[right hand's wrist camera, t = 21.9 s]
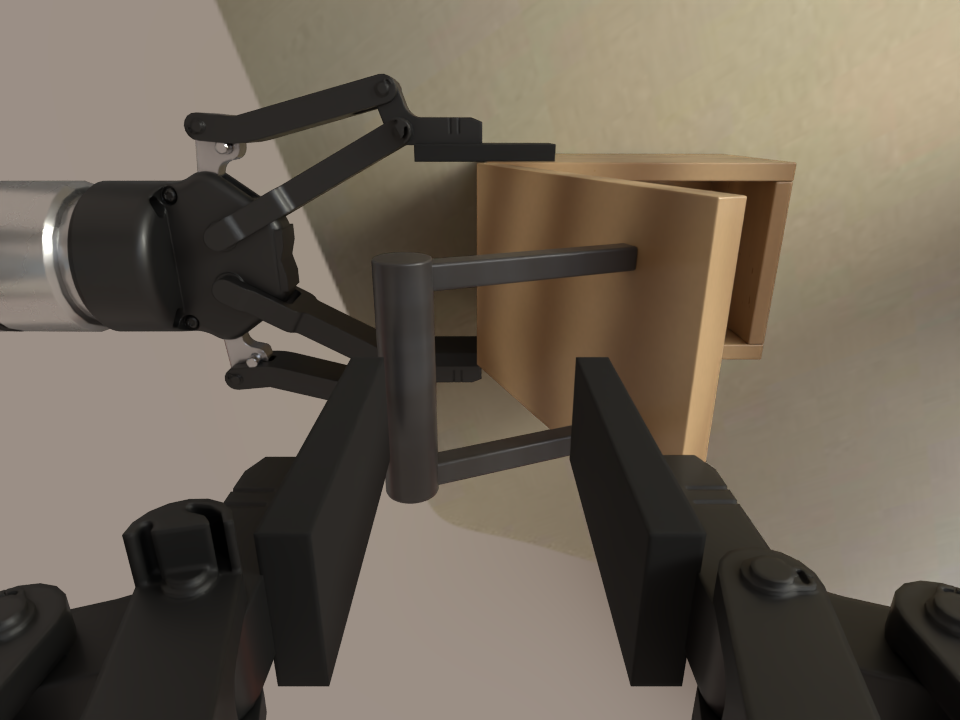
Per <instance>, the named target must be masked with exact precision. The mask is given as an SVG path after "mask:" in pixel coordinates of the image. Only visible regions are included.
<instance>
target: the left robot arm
mask: <svg viewBox="0 0 960 720" xmlns="http://www.w3.org/2000/svg"><path fill="white" fill-rule="evenodd" d="M376 109H378V111H379V113H380V116H381V118H382V121H383V123H384V124H383V125H381V126H380V127H378V128H376V129H375V130H373V131H371V132H370V133H368V134H366V135H365V136H363V137H361V138H360V139H358V140H356V141H355V142H353V143H351V144H350V145H348V146H346V147H345V148H343V149H341V150H340V151H338V152H336V153H334V154H333V155H331V156H329V157H328V158H326V159H324V160H323V161H321V162H319V163H318V164H316V165H314V166H313V167H311V168H309V169H308V170H306V171H304V172H303V173H301V174H299V175H298V176H296V177H294V178H293V179H291V180H289V181H288V182H286V183H284V184H283V185H281V186H279V187H277V188H275V189H273V190H271V191H269V192H268V193H266V194H264V195H263V196H259V195H258V194H256V193H255V192H253V191H252V190H250V189H249V188H248V187H246V186H245V185H243V184H242V183H240V182H239V181H237V180H236V179H234V178H233V177H231V176H230V175H228V174H227V173H226V172H225V171H226V166H227V164H228V163H229V162H230V161H232V160H236V159H240V158H242V157H243V156H244V155H245V153H246V143H251V142H262V141H267V140H271V139H275V138H278V137H282V136H285V135H289V134H292V133H296V132H299V131H303V130H306V129H310V128H313V127H316V126H320V125H323V124H327V123H330V122H334V121H337V120H341V119H344V118H348V117H351V116H355V115H358V114H362V113H365V112H369V111H372V110H376ZM184 127H185V131H186V132H187V134H188V135H189V136H190V137H191V138H192V139H194V140H195V141H196V155H197V169H198V172H197V173H195V174H193V175H191V176H190V177H188V178H187V179H185V180H182V181H102V182H98V183H96V184H92V183H89V182H87V181H0V331H105V330H108V329H112V330H115V331H204V332H207V333H210V334H213V335H215V336H217V337H219V338H221V339H224V341H225V345H226V349H227V353H228V356H229V360H230V364H231V369H230V370H229V371H228V372H227V373H226V375H225V381H226V383H227V385H228V386H230V387H231V388H233V389H238V390H240V389H252V388H263V387H273V388H277V389H282V390H286V391H290V392H294V393H299V394H303V395H308V396H312V397H316V398H321V399H325V400H328V399H329V397H330V395H331V393H332V392H333V390H334V388H335V386H336V384H337V383H338V381H339V379H340V377H341V375H342V374H343V372H344V370H345V368H346V366H347V365H344V364H340V363H336V362H331V361H327V360H323V359H319V358H315V357H310V356H306V355H302V354H298V353H293V352H287V351H272V349H271V346H270V345H269V344H267V343H262V342H257V341H255V340H253V339H252V338H251V337H250V335H249V333H248V332H249V331H250V330H251V329H252V328H254V327H255V326H256V325H258V324H259V323H260V322H262V321H265V322H267V323H269V324H271V325H273V326H275V327H277V328H280V329H282V330H284V331H286V332H290V333H299V334H301V335H303V336H305V337H307V338H309V339H312V340H314V341H316V342H318V343H320V344H322V345H324V346H326V347H328V348H330V349H332V350H334V351H336V352H338V353H341V354H343V355H345V356H347V357H349V358H351V357H378V354H377V339H376V329H375V328H373V327H371V326H369V325H367V324H365V323H363V322H361V321H358V320H356V319H354V318H352V317H350V316H348V315H346V314H344V313H342V312H340V311H338V310H336V309H334V308H332V307H330V306H328V305H326V304H324V303H322V302H320V301H318V300H317V299H316V297H315V296H314V295H312V294H311V293H309V292H307V291H305V290H303V289H301V288H299V287H297V286H296V285H297V284H298V283H299V275H298V268H297V265H296V262H295V260H294V257H293V254H292V251H293V245H294V239H295V238H294V229H293V224H289V221H288V219H287V218H286V216H287V215H288V214H290V213H292V212H294V211H295V210H297V209H299V208H300V207H302V206H304V205H305V204H307V203H308V202H310V201H312V200H313V199H315V198H317V197H319V196H320V195H322V194H324V193H325V192H327V191H329V190H331V189H332V188H334V187H336V186H337V185H339V184H341V183H342V182H344V181H346V180H348V179H349V178H351V177H353V176H354V175H356V174H358V173H360V172H361V171H363V170H365V169H366V168H368V167H370V166H371V165H373V164H375V163H377V162H378V161H380V160H382V159H383V158H385V157H387V156H389V155H390V154H392V153H394V152H395V151H397V150H399V149H400V148H402V147H404V146H406V145H414V157H415V162H486V161H555V147H556V144H551V143H482V122H480V121H478V120H476V119H474V118H458V117H451V118H449V117H417V116H415V115H414V114H412V113H411V111H410V110H409V108H408V106H407V104H406V101H405V99H404V96H403V93H402V89H401V86H400V84H399V83H398V82H397V81H396V80H395V79H393V78H392V77H390V76H388V75H385V74H378V75H374V76H371V77H367V78H364V79H360V80H357V81H354V82H350V83H347V84H343V85H340V86H336V87H333V88H329V89H326V90H323V91H319V92H316V93H312V94H309V95H305V96H302V97H299V98H295V99H292V100H288V101H285V102H281V103H278V104H274V105H271V106H268V107H264V108H261V109H257V110H254V111H251V112H247V113H244V114H240V115H237V116H236V115H226V114H214V113H191V114H189V115H188V116H187V117H186V119H185V121H184ZM435 364H436V382H474V381H477V380H479V379H481V367H480V366H478V365H477V336H435Z"/></svg>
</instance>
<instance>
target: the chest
mask: <svg viewBox="0 0 960 720" xmlns="http://www.w3.org/2000/svg"><path fill="white" fill-rule="evenodd" d="M484 163H500V164H508V165H516V166H523V167H531V168H539V169H546V170H554V171H562V172H569V173H577V174H584V175H592V176H600V177H607V178H615V179H623V180H630V181H638V182H646V183H653V184H661V185H669V186H676V187H684V188H691V189H699V190H707V191H714V192H722V193H730V194H737V195H745V196H747V199H746V206H745V212H744V219H743V225H742V232H741V238H740V244H739V251H738V257H737V264H736V270H735V276H734V283H733V289H732V296H731V302H730V308H729V315H728V321H727V328H726V334H725V340H724V347H723V353H722V359H761V356H762V350H763V343H764V339H765V333H766V327H767V322H768V316H769V311H770V305H771V300H772V294H773V289H774V283H775V278H776V272H777V267H778V261H779V256H780V250H781V245H782V239H783V234H784V228H785V223H786V217H787V212H788V206H789V201H790V195H791V190H792V184H793V182H792V181H793V180H794V174H795V169H796V163H794V162H786V161H777V160H769V159H760V158H752V157H743V156H735V155H726V154H555V161H486V162H484Z"/></svg>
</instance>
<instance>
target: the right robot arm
mask: <svg viewBox="0 0 960 720" xmlns="http://www.w3.org/2000/svg"><path fill="white" fill-rule="evenodd" d="M389 462H390V445H389V429H388V413H387V396H386V380H385V364H384V357H351V359H350V361H349V363H348V365H347V366H346V368H345V370H344V372H343V374H342V375H341V377H340V379H339V381H338V383H337V384H336V386H335V388H334V390H333V392H332V393H331V395H330V397H329V399H328V400H327V402H326V404H325V406H324V408H323V410H322V411H321V413H320V415H319V417H318V418H317V420H316V422H315V424H314V426H313V427H312V429H311V431H310V433H309V435H308V436H307V438H306V440H305V442H304V444H303V445H302V447H301V449H300V451H299V453H298V454H297V456H296V457H265V458H263V459H262V460H260V461H259V462H258V463H256V464H255V465H253V466H252V467H250V468H249V469H248V470H246V471H245V472H244V473H243V475H242V476H241V478H240V479H239V481H238V482H237V484H236V485H235V487H234V488H233V492H230V494H229V495H228V497H227V498H226V500H225V501H224V503H222V502H219V501H215V500H211V499H188V500H183V501H178V502H174V503H169V504H167V505H164V506H162V507H159V508H157V509H154V510H152V511H149V512H148V513H146V514H145V515H143V516H142V517H140V518H139V519H137V520H136V521H134V522H133V523H132V524H131V525H130V526H129V527H128V529H127V530H126V531H125V532H124V534H123V535H122V537H123V540H124V544H125V548H126V552H127V556H128V560H129V564H130V568H131V572H132V575H133V579H134V583H135V590H134V592H133V594H132V595H129V596H126V597H122V598H119V599H115V600H110V601H106V602H101V603H97V604H93V605H88V606H83V607H79V608H75V609H70V607H69V604H68V600H67V597H66V594H65V593H64V592H63V591H61V590H60V589H59V588H58V587H57V586H53V585H47V584H41V583H39V584H30V585H21V586H16V587H13V588H10V589H7V590H3V591H0V720H266V712H267V711H266V704H265V697H264V691H263V685H264V683H265V680H266V678H267V675H268V673H269V670H270V667H271V665H272V662H273V660H274V664H275V670H276V677H277V683H278V686H329V685H330V681H331V677H332V674H333V670H334V666H335V663H336V659H337V655H338V651H339V648H340V644H341V640H342V637H343V633H344V629H345V625H346V622H347V618H348V614H349V611H350V607H351V603H352V599H353V596H354V592H355V588H356V585H357V581H358V577H359V574H360V570H361V566H362V562H363V559H364V555H365V551H366V548H367V544H368V540H369V536H370V533H371V529H372V525H373V521H374V518H375V514H376V510H377V507H378V503H379V499H380V496H381V492H382V488H383V485H384V481H385V477H386V473H387V470H388V466H389ZM570 462H571V466H572V470H573V473H574V477H575V481H576V485H577V488H578V492H579V496H580V499H581V503H582V507H583V511H584V514H585V518H586V522H587V525H588V529H589V533H590V536H591V540H592V544H593V548H594V551H595V555H596V559H597V562H598V566H599V570H600V573H601V577H602V581H603V585H604V588H605V592H606V596H607V599H608V603H609V607H610V610H611V614H612V618H613V622H614V626H615V629H616V633H617V637H618V640H619V644H620V648H621V651H622V655H623V659H624V662H625V666H626V670H627V674H628V677H629V681H630V685H631V686H682V683H683V677H684V670H685V664H686V658H687V659H688V662H689V664H690V667H691V669H692V672H693V675H694V677H695V680H696V682H697V685H698V686H697V691H696V697H695V703H694V708H693V714H692V720H960V588H958V587H953V586H950V585H947V584H943V583H937V582H928V581H916V582H910V583H904V584H903V585H902V586H901V587H900V588H899V589H897V590H896V591H895V594H894V597H893V600H892V604H891V607H889V606H884V605H880V604H875V603H871V602H866V601H862V600H857V599H852V598H848V597H844V596H840V595H837V594H833V593H830V592H827V591H826V589H825V586H824V585H823V584H822V582H821V581H820V579H819V578H818V576H817V575H816V574H815V573H814V572H813V571H812V570H810V569H809V568H808V567H807V566H805V565H804V564H803V563H801V562H800V561H798V560H796V559H794V558H792V557H790V556H788V555H785V554H783V553H781V552H778V551H774V550H770V548H769V547H768V545H767V544H766V542H765V541H764V539H763V538H762V536H761V535H760V534H759V532H758V531H757V529H756V528H755V526H754V525H753V523H752V522H751V520H750V519H749V517H748V516H747V515H746V513H745V512H744V510H743V509H742V507H741V506H740V504H737V500H736V499H735V497H734V496H733V494H732V493H731V491H730V490H727V485H726V484H725V483H724V481H723V480H722V478H721V477H720V475H719V474H718V472H717V471H716V469H714V468H713V467H711V466H710V465H708V464H707V463H705V462H704V461H703V460H701V459H700V458H698V457H697V456H695V455H663V454H662V453H661V451H660V449H659V447H658V445H657V444H656V442H655V440H654V438H653V436H652V435H651V433H650V431H649V429H648V427H647V426H646V424H645V422H644V420H643V418H642V417H641V415H640V413H639V411H638V409H637V408H636V406H635V404H634V402H633V400H632V399H631V397H630V395H629V393H628V392H627V390H626V388H625V386H624V384H623V383H622V381H621V379H620V377H619V375H618V374H617V372H616V370H615V368H614V366H613V365H612V363H611V361H610V359H609V357H576V364H575V380H574V396H573V413H572V429H571V445H570Z"/></svg>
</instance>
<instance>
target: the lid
mask: <svg viewBox="0 0 960 720" xmlns="http://www.w3.org/2000/svg"><path fill="white" fill-rule="evenodd" d="M746 199H747V196H745V195H737V194H730V193H722V192H714V191H707V190H699V189H691V188H684V187H676V186H669V185H661V184H653V183H646V182H638V181H630V180H623V179H615V178H607V177H600V176H592V175H584V174H577V173H569V172H562V171H554V170H546V169H539V168H531V167H523V166H516V165H508V164H500V163H477V255H472V256H460V257H448V258H436V259H432V257H431V256H429V255H427V254H423V253H416V252H394V253H386V254H381V255H378V256H375V257H373V258H372V276H373V292H374V308H375V323H376V339H377V354H378V357H384V364H385V380H386V396H387V413H388V429H389V445H390V462H389V466H388V470H387V473H386V477H385V479H386V492H387V494H388V495H389V497H390V498H391V499H393V500H395V501H397V502H400V503H408V504H412V503H419V502H423V501H426V500H429V499H430V498H432V497H433V496H434V495H435V494H436V493H437V491H438V489H439V485H440V484H445V483H449V482H454V481H458V480H462V479H467V478H471V477H476V476H480V475H485V474H489V473H494V472H498V471H503V470H507V469H511V468H516V467H520V466H525V465H529V464H534V463H538V462H543V461H547V460H552V459H556V458H560V457H565V456H569V455H570V445H571V429H572V413H573V396H574V380H575V364H576V357H609V359H610V361H611V363H612V365H613V366H614V368H615V370H616V372H617V374H618V375H619V377H620V379H621V381H622V383H623V384H624V386H625V388H626V390H627V392H628V393H629V395H630V397H631V399H632V400H633V402H634V404H635V406H636V408H637V409H638V411H639V413H640V415H641V417H642V418H643V420H644V422H645V424H646V426H647V427H648V429H649V431H650V433H651V435H652V436H653V438H654V440H655V442H656V444H657V445H658V447H659V449H660V451H661V453H662V454H663V455H695V456H697V457H698V458H700V459H701V460H703V461H704V462H706V456H707V449H708V443H709V436H710V430H711V424H712V417H713V411H714V404H715V398H716V392H717V385H718V379H719V372H720V366H721V360H722V353H723V347H724V340H725V334H726V328H727V321H728V315H729V308H730V302H731V296H732V289H733V283H734V276H735V270H736V264H737V257H738V251H739V244H740V238H741V232H742V225H743V219H744V212H745V206H746ZM470 287H477V365H478V366H480V367H481V368H482V369H483V370H484V371H485V372H486V373H487V374H489V375H490V376H491V377H492V378H493V379H494V380H495V381H496V382H498V383H499V384H500V385H501V386H502V387H503V388H504V389H505V390H507V391H508V392H509V393H510V394H511V395H512V396H513V397H514V398H516V399H517V400H518V401H519V402H520V403H521V404H522V405H523V406H524V407H526V408H527V409H528V410H529V411H530V412H531V413H532V414H533V415H535V416H536V417H537V418H538V419H539V420H540V421H541V422H542V423H544V424H545V425H546V426H547V427H548V428H549V429H550V430H545V431H540V432H535V433H530V434H526V435H521V436H516V437H511V438H506V439H501V440H496V441H491V442H486V443H481V444H477V445H472V446H467V447H462V448H457V449H452V450H447V451H442V452H438V438H437V401H436V364H435V327H434V291H441V290H450V289H460V288H470Z"/></svg>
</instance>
